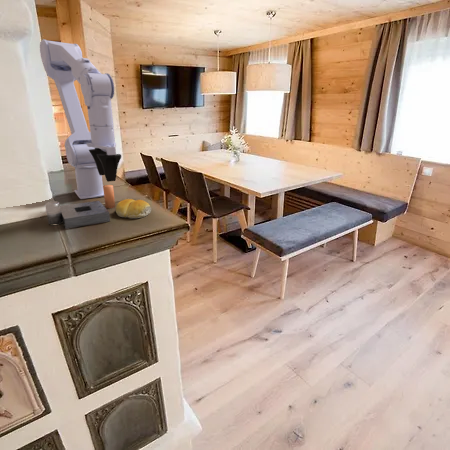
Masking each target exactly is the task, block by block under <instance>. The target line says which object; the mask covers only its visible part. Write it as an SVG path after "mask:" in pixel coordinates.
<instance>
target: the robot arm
mask: <svg viewBox="0 0 450 450" xmlns="http://www.w3.org/2000/svg"><path fill="white" fill-rule="evenodd" d="M39 53H40V59H41V61H42V65H43V69H44V71H45V73H46V76H48V77H49V78H50V79H52V80H53V81H54V85H55V86H56V89H57V91H58V96H59V98H60V102H61V106H62V108H63V112H64V114H65V118H66V121H67V125H68V127H69V129H70V133H71V134H70V135H69V136H68V137H67V138H66V139H65V142H64V148H65V155H66V159H67V162H68V164H69V165H70V166H71V167H73V168H74V171H75V180H76V186H77V187H76V188H77V189H74V193H75V194H76V195H77V197H78V198H79V199H80V200H85V199H93V198H99V197H104V190H103V186H104V184H103V176H104V177H105V181H106V182H108V183H109V182H115V181H116V180H117V172H118V167H119V163H120V161H121V159H122V154H120V153H118V154H117V151H116V147H117V142H116V140H115V139H116V137H115V128H114V118H113V117H114V115H113V109H112V107H113V106H112V99H114V96H115V83H114V80H113V77H112V76H111V75H110V73H107V72H106V73H101V71H100V70H99V69H97V67H96V66H95V65H94V64H93V63H92V61H90V59H89V58H88V57H83V52H82V49H81V47H80V46H79V44H77V43H69V42H61V41H54V40H47V39H46V38H45V39H44V38H43V39H42V40H41V41H40V43H39ZM75 81H77V82H78V83H79V85H80V91H81V94H82V95H83V100H84V105H85V106H86V107H87V115H88V116H87V117H88V123H89V128H88V125H87V121H86V118H85V115H84V112H83V109H82V106H81V102H80V99H79V95H78V92H77V90H76V87H75Z"/></svg>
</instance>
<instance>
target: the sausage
mask: <svg viewBox="0 0 450 450" xmlns="http://www.w3.org/2000/svg"><path fill="white" fill-rule="evenodd" d="M103 190H104V196H103V198H104V199H103V200H104V207H105V208H106V209H113V208H116V200H115V192H114V185H113V184H105V185H104V184H103Z"/></svg>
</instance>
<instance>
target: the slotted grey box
mask: <svg viewBox="0 0 450 450" xmlns="http://www.w3.org/2000/svg"><path fill="white" fill-rule="evenodd" d="M44 207H45V212H46V216H47V223H48V225H49V224H59V225H61V224H63V226H64V228H65V229H66V230H67V229H74V228H78V227H83V226H84V227H85V226H90V225H96V224H102V223H108V222H111V219H110V211H109V210H108V208H106V207H105V205H104V204H103V203H102V202H101V200H96V201H88V202H87V201H86V202H79V203H72V204H66V205H65V204H64V205H61V204H60V202H59V201H57V200H55V201H53V200H52V201H51V200H50V201H47V202H45V203H44Z"/></svg>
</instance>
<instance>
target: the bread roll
mask: <svg viewBox="0 0 450 450" xmlns="http://www.w3.org/2000/svg"><path fill="white" fill-rule="evenodd" d="M151 212H152V207H151V205H150V203H148V202H147V201H145V200H144V199H136V200H135V199H133V198H126V199H122V200H121V201H119V202H117V204H116V205H115V213H116V216H118V217H120V218H124V219H125V218H128V219H134V220H135V219H142V218H145V217H147V216H149V215H150V214H151Z"/></svg>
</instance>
